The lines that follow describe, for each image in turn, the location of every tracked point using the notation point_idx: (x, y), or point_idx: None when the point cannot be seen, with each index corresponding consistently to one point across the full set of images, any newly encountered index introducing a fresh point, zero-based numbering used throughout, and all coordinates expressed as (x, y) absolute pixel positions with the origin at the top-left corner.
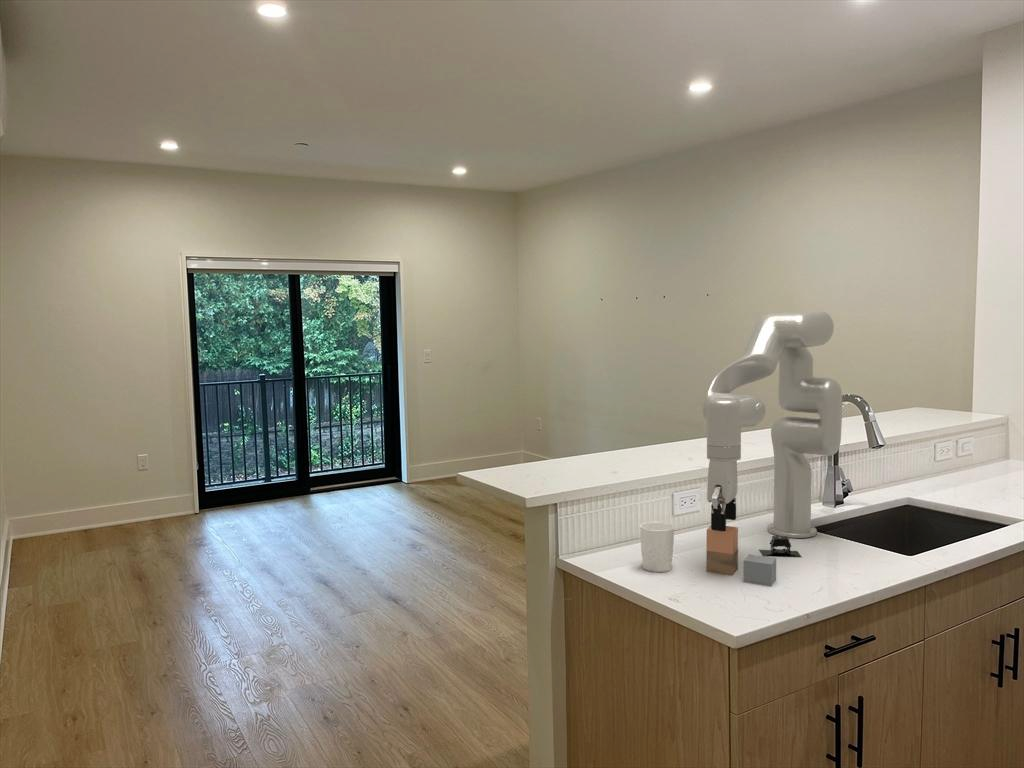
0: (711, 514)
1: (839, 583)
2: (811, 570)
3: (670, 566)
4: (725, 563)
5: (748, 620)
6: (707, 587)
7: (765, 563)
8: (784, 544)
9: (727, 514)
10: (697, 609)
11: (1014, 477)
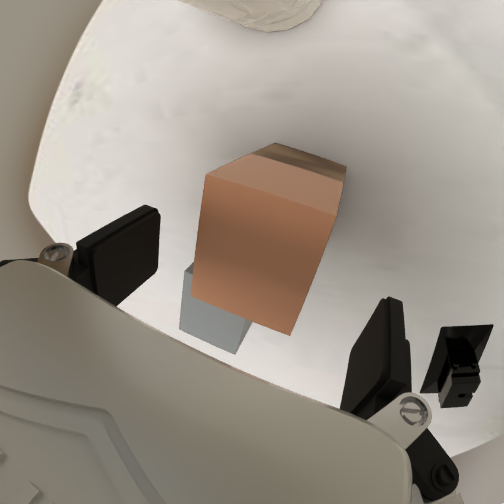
0: (84, 239)
1: None
2: (331, 389)
3: (254, 28)
4: None
5: (58, 224)
6: (149, 150)
7: (180, 318)
8: (442, 390)
9: (367, 340)
10: (58, 145)
11: None
